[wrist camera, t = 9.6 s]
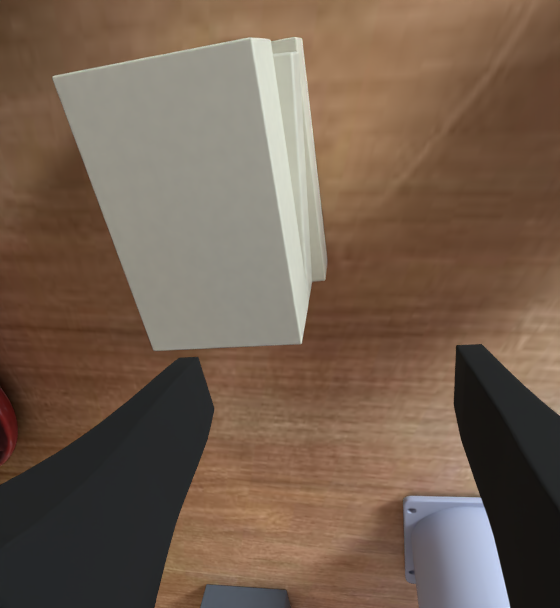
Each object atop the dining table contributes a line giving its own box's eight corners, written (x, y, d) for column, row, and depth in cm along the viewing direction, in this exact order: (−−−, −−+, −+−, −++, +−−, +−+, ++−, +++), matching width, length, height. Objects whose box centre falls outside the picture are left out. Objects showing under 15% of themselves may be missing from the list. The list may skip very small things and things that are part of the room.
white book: (308, 302, 17) (302, 344, 15) (179, 311, 18) (153, 351, 16) (270, 38, 13) (251, 37, 10) (102, 71, 14) (50, 76, 11)
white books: (328, 261, 20) (323, 302, 17) (196, 272, 21) (168, 312, 18) (303, 37, 16) (290, 35, 13) (138, 68, 17) (89, 73, 14)
